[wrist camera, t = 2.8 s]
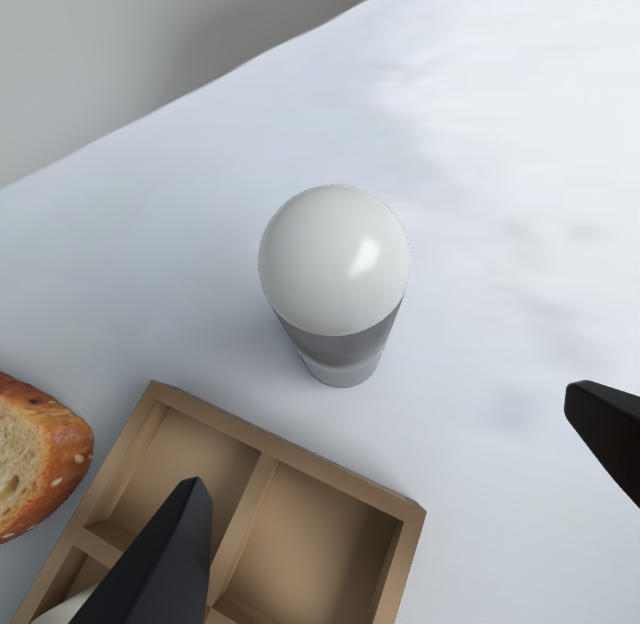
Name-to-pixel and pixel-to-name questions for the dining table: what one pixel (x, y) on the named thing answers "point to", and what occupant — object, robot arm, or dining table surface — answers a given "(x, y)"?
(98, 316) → the dining table surface
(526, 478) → the dining table surface
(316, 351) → the grey rounded cylinder
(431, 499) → the dining table surface
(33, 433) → the slice of bread
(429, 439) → the dining table surface
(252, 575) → the caddy
